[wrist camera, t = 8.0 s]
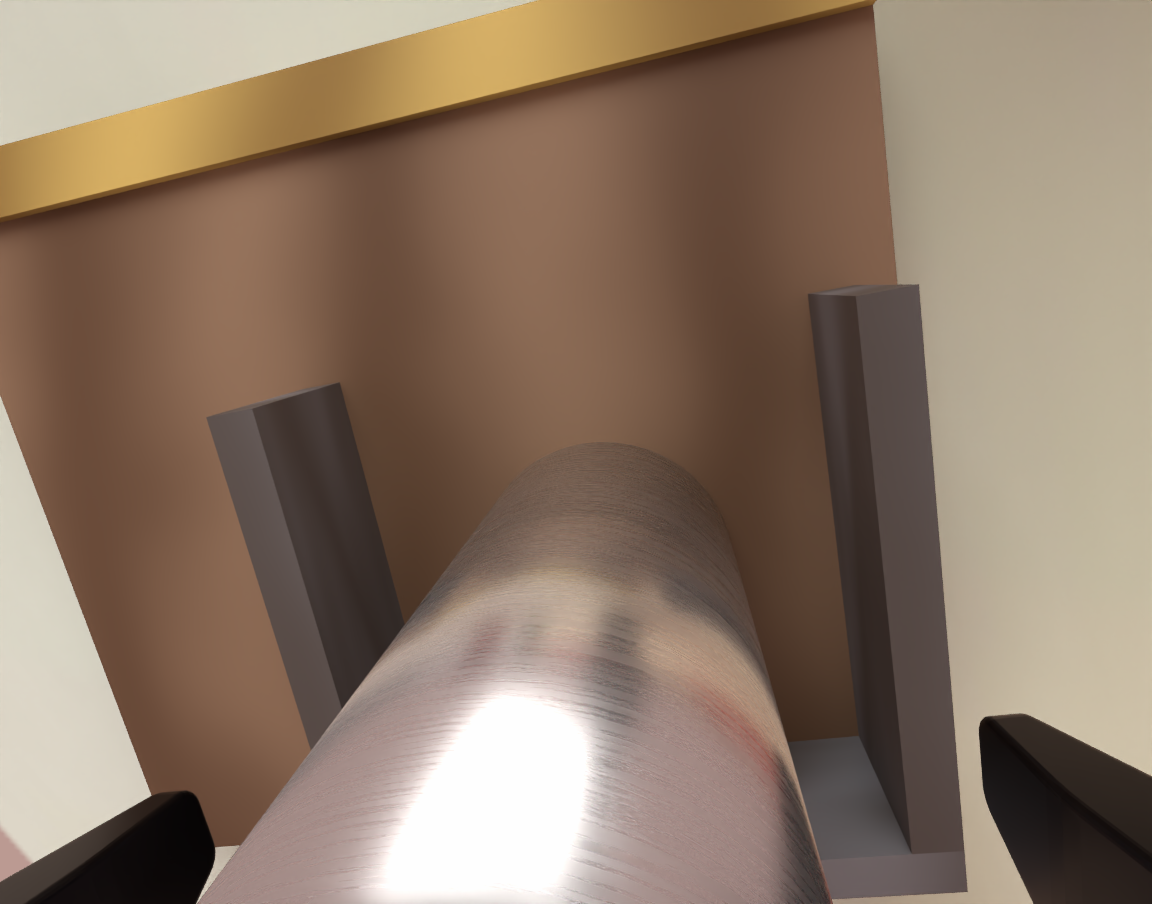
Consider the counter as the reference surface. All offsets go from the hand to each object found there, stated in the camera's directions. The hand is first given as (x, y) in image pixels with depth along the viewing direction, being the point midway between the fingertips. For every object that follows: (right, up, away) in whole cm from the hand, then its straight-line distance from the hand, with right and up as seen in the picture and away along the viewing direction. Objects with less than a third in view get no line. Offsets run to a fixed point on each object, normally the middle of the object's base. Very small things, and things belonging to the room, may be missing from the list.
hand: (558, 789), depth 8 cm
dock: (-2, +3, +8) cm, 9 cm away
